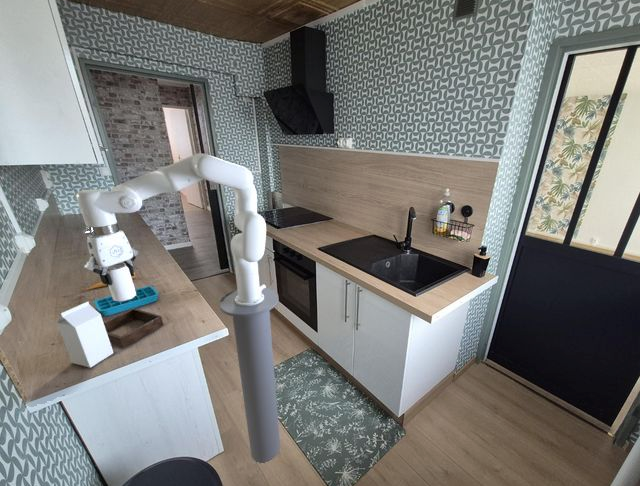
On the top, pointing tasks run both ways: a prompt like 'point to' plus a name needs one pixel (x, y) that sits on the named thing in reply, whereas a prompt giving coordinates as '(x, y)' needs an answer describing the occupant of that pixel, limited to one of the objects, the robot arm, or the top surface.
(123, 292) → the can
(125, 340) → the crate
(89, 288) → the carrot
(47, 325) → the top surface
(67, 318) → the milk carton
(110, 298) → the ice cube tray
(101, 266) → the robot arm
